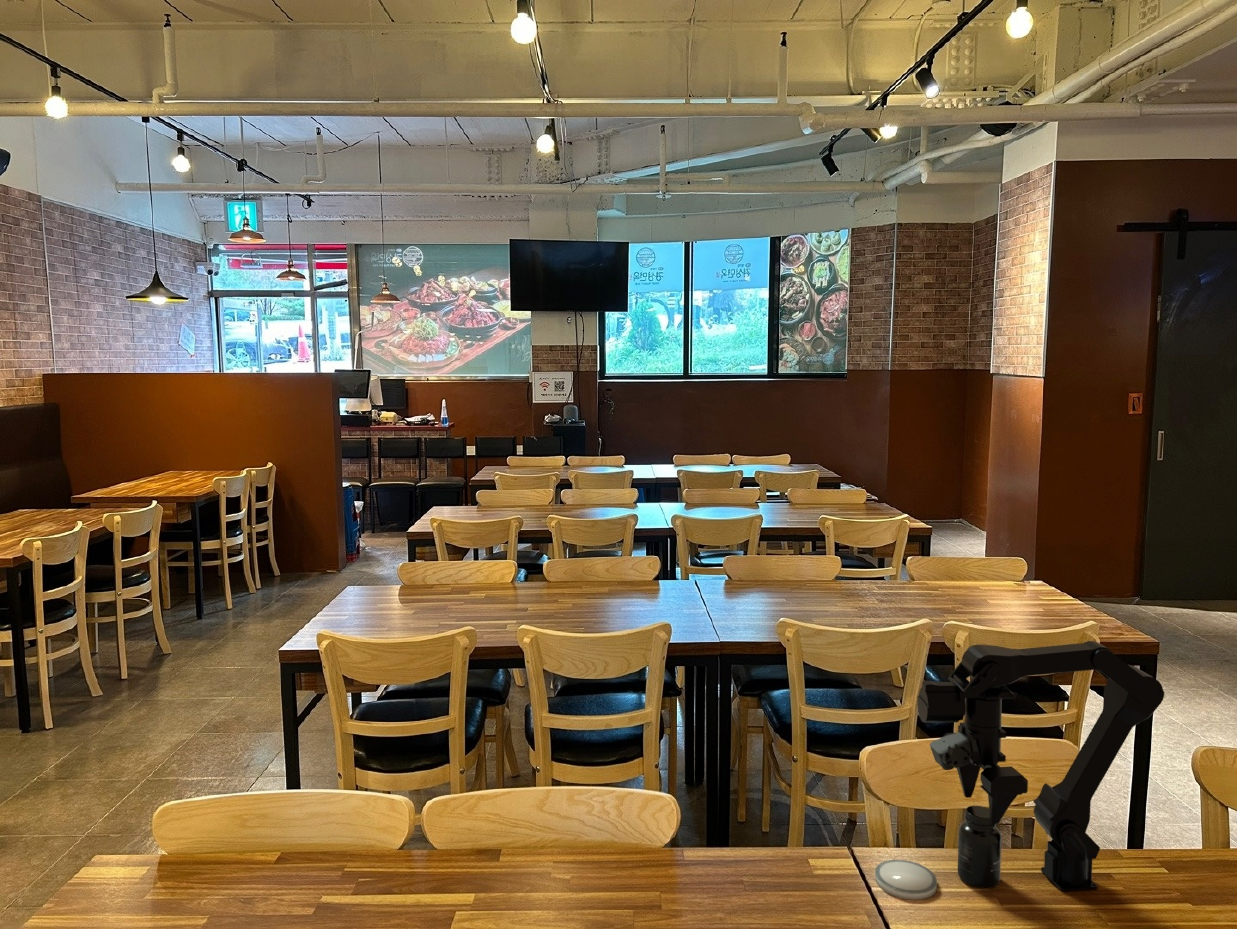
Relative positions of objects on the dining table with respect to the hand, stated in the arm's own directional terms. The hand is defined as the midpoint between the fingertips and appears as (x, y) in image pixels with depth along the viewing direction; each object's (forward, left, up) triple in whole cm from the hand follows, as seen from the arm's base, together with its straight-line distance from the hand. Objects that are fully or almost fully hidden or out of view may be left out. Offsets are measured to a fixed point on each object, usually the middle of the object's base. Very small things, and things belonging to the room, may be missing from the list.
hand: (980, 810), depth 147 cm
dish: (+13, 0, -12) cm, 18 cm away
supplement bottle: (0, 0, -13) cm, 13 cm away
